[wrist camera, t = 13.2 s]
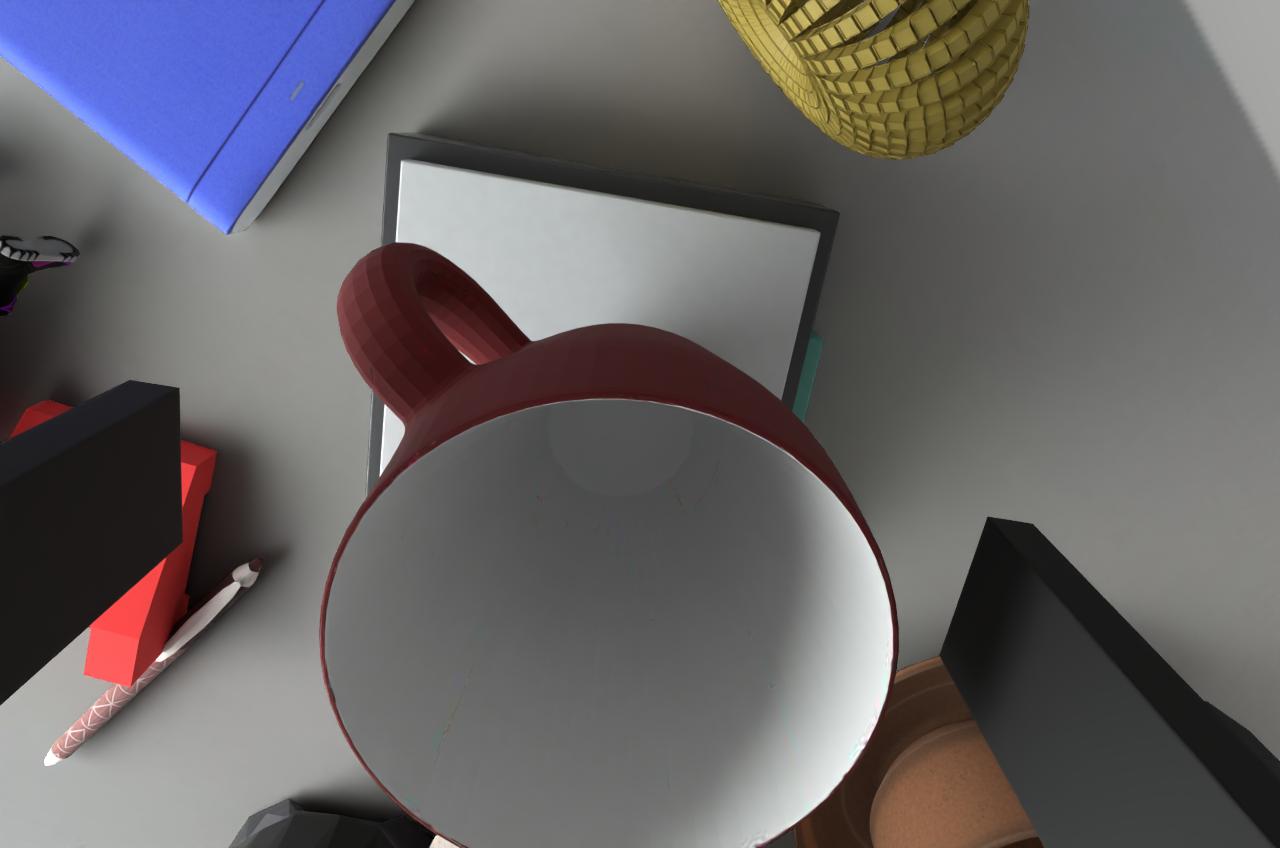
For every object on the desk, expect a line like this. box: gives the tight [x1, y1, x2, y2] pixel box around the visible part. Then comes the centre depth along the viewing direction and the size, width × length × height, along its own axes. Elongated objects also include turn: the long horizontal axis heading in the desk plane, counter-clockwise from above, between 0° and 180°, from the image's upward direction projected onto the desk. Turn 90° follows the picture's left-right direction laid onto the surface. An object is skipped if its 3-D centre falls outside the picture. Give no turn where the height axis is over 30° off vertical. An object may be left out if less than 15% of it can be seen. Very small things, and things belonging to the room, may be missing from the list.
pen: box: [44, 557, 265, 766], centre depth 26 cm, size 11×1×1 cm, turn 133°
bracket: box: [9, 400, 217, 687], centre depth 23 cm, size 6×5×3 cm
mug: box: [319, 242, 899, 848], centre depth 16 cm, size 11×8×10 cm
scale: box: [365, 133, 840, 499], centre depth 22 cm, size 11×11×3 cm
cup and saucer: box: [794, 656, 1044, 848], centre depth 25 cm, size 12×12×6 cm
